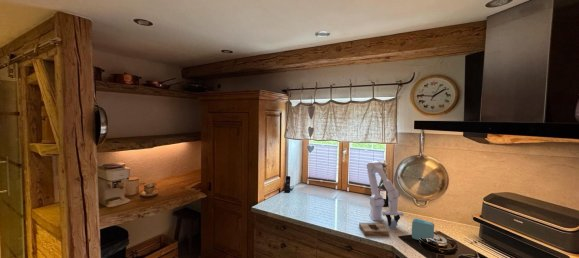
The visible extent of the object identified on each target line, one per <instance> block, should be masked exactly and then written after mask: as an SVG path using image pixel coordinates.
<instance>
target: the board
mask: <svg viewBox="0 0 579 258" xmlns="http://www.w3.org/2000/svg"><path fill="white" fill-rule="evenodd" d="M358 227H359V229H360V231H361V232H362V234H363V235H364V236H365V237H366V236H367V237H390V231H389V229H387V227H386V226H384V224H383V223H382V222H359V225H358Z"/></svg>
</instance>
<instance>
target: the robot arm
mask: <svg viewBox="0 0 579 258" xmlns="http://www.w3.org/2000/svg"><path fill="white" fill-rule="evenodd" d="M383 168H384V166H383V163H382V162H381V161H379V160H377V161H368V162H367V164H366V169H367V170H366V171H367V176H368V181H369V186H370V191H371V196H369V199H370V200H369V205H370V212H369V213H370V214H369V215H368V216H369V217H370V218H371V219H372V221H384V219H383V216H384V217H386V220H387V225H389V226H390V225H391V219H392V216H393V219H394V220H395V221H396V222H397V223H398V221H399V220H400V219H401V217H403V216H404V212H403V211H402V212H401V211H398V208H399V207H398V205H399V203H398V201H399V198H400V196H401V193H400V191H399V190H398V189H397V188H396V187H395V186H394V184H393V182H392V181H391V180H390V179H388V177H387V174H386V173H385V170H384V169H383ZM376 173H377V174H378V175H379V177H380V179H381V180H382V181H383V186H384V188H385V190H386V192H387V198H388V210H387V211H383V207H384V205H385V199H384V198H383V196H382V195H381V194H380V190H379V186H378V182H377V181H378V180H377V176H376ZM389 226H388V227H389Z"/></svg>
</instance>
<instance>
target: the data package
mask: <svg viewBox="0 0 579 258" xmlns="http://www.w3.org/2000/svg"><path fill="white" fill-rule="evenodd" d="M434 235H435V224H434V223H433V222H431V221H428V220H423V219H419V218H413V219H412V222H411V237H412V239H414V240H418V241H420V240H419V238H422V239H426V238H432V239H433V237H434ZM433 240H434V239H433Z"/></svg>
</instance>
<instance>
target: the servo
mask: <svg viewBox="0 0 579 258" xmlns="http://www.w3.org/2000/svg"><path fill="white" fill-rule="evenodd" d="M387 225H388V224H387ZM398 226H399V225H398V222H396V221H395V220H394V218H391V225H390V226H389V225H388V227H389V228H390V229H391V230H395V229H397V227H398Z"/></svg>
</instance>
